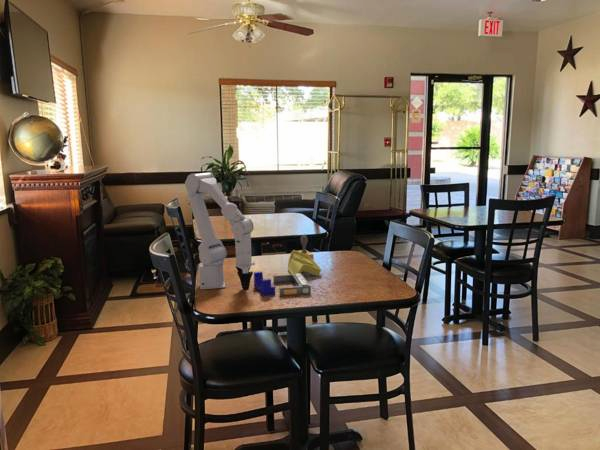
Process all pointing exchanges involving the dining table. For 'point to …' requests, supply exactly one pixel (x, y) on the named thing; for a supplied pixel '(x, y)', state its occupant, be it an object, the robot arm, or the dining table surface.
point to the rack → (298, 281)
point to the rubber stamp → (304, 243)
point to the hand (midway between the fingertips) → (244, 286)
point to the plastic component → (302, 264)
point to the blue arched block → (263, 284)
